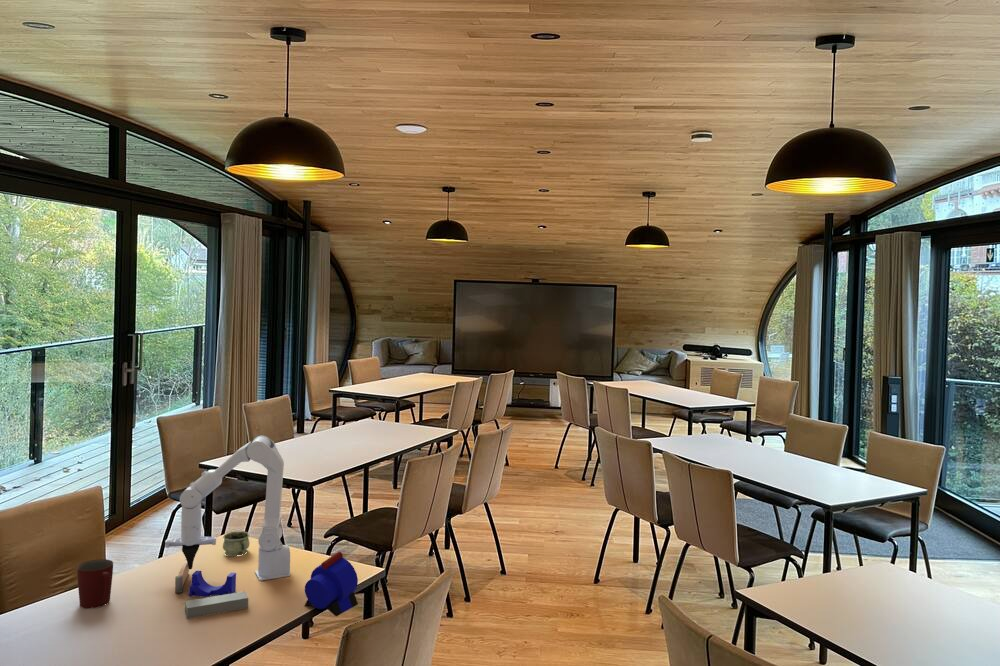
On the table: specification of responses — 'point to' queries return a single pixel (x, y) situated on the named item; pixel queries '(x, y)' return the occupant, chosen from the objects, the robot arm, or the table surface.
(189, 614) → the grey rectangular block
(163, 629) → the table surface
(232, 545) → the vessel
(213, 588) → the blue pipe saddle
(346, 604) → the blue electric motor
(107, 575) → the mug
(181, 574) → the bar
